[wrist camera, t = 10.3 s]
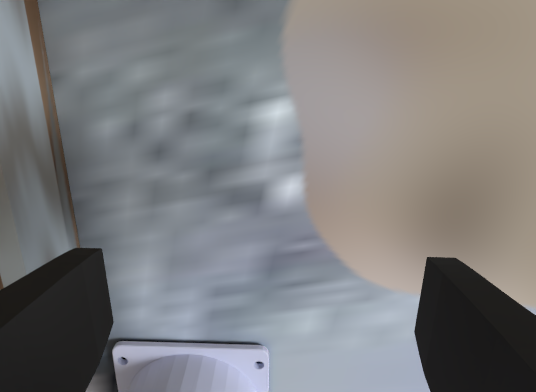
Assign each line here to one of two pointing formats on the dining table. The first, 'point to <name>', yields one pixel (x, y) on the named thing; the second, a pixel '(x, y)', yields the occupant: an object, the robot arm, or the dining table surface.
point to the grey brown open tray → (29, 150)
